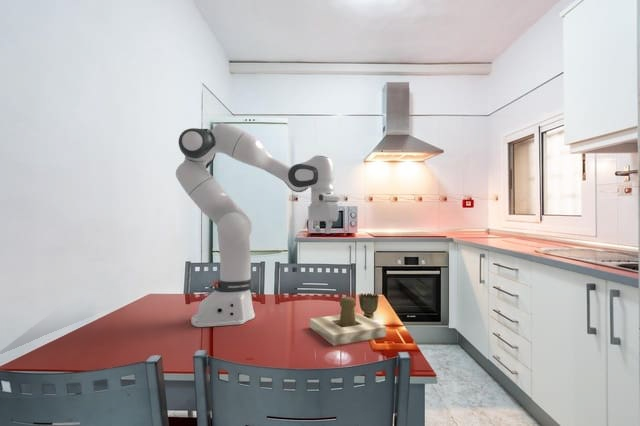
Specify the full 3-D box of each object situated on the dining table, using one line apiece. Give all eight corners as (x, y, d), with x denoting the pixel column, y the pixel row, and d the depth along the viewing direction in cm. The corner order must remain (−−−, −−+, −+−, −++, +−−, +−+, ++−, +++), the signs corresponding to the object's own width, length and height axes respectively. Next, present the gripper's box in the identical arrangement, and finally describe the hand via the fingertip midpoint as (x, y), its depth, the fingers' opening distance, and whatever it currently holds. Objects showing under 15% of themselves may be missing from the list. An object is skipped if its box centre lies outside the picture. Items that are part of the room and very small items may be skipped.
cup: (378, 319, 121) (378, 297, 121) (358, 318, 122) (357, 296, 123) (379, 314, 128) (378, 293, 128) (359, 313, 130) (359, 292, 130)
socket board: (333, 345, 96) (333, 335, 96) (310, 327, 112) (310, 318, 113) (385, 336, 103) (385, 327, 103) (356, 320, 120) (356, 312, 120)
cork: (344, 335, 104) (344, 300, 104) (334, 330, 109) (335, 296, 110) (360, 332, 107) (360, 298, 107) (350, 327, 112) (350, 294, 113)
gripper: (305, 199, 139) (305, 232, 139) (326, 195, 120) (326, 234, 120) (319, 199, 142) (319, 232, 141) (341, 196, 123) (341, 233, 123)
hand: (322, 233), depth 130 cm, fingers open, 8 cm apart
